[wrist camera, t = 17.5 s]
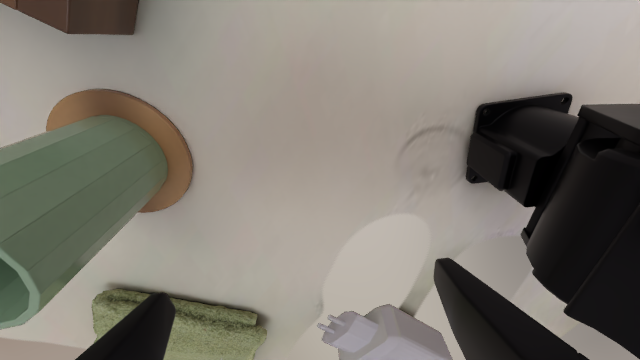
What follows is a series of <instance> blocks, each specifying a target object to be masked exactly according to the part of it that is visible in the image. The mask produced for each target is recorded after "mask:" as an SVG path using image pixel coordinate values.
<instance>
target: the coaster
mask: <svg viewBox="0 0 640 360" xmlns="http://www.w3.org/2000/svg"><path fill="white" fill-rule="evenodd" d="M95 115H111V116H116V117H120V118H123V119H126V120H128V121H131V122H133V123H134V124H136V125H138V126H140V127H141V128H143V129H144V130H145V131H146V132H148V133H149V134H150V135H151V136H152V137H153V138H154V139H155V140H156V142H157V143H158V144H159V146H160V147H161V148H162V150H163V152H164V154H165V157H166V160H167V164H168V175H167V179H166V181H165V183H164V185H163V186H162V187H161V189H160V190H159V191H158V192H157V193H156V194H155V195H154V196H153V197H152V198H151V199H150V200H149V201H148V202H147V203H146V204H145V205H144V206H143V207H142V208H141V209H140V210H139V211H138V212H141V213H145V212H154V211H159V210H162V209H165V208H167V207H169V206H171V205H173V204H174V203H176V202H177V201H178V200H179V199H180V198H181V197H182V196H183V195H184V193H185V192H186V190H187V189H188V187H189V185H190V182H191V178H192V160H191V155H190V152H189V149H188V147H187V145H186V143H185V140H184V139H183V137H182V136H181V134H180V132H179V131H178V130H177V129H176V127H175V126H174V125H173V124H172V123H171V122H170V121H169V120H168V119H167V118H166V117H165V116H164V115H163V114H162V113H160V112H159V111H158V110H157V109H155V108H154V107H152V106H151V105H149V104H147V103H146V102H144V101H142V100H140V99H138V98H136V97H133V96H131V95H128V94H125V93H122V92H118V91H113V90H105V89H93V90H86V91H81V92H77V93H74V94H71V95H69V96H67V97H65V98H64V99H62V100H61V101H60V102H59V103H58V104H57V105H56V106H55V107H54V108H53V110H52V111H51V113H50V115H49V118H48V120H47V126H46V131H49V130H52V129H55V128H58V127H60V126H63V125H66V124H69V123H72V122H75V121H78V120H81V119H84V118H87V117H90V116H95Z"/></svg>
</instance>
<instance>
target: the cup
mask: <svg viewBox="0 0 640 360" xmlns="http://www.w3.org/2000/svg"><path fill="white" fill-rule="evenodd" d="M167 175H168V164H167V160H166V157H165V154H164V152H163V150H162V148H161V147H160V146H159V144H158V143H157V142H156V140H155V139H154V138H153V137H152V136H151V135H150V134H149V133H148V132H146V131H145V130H144V129H143V128H141V127H140V126H138V125H136V124H134V123H133V122H131V121H128V120H126V119H123V118H120V117H116V116H111V115H95V116H90V117H87V118H84V119H81V120H78V121H75V122H72V123H69V124H66V125H63V126H60V127H58V128H55V129H52V130H49V131H46V132H44V133H41V134H38V135H35V136H32V137H30V138H27V139H24V140H21V141H18V142H15V143H13V144H10V145H7V146H4V147H1V148H0V329H5V328H10V327H14V326H19V325H23V324H25V323H26V322H27V321H28V320H30V319H31V318H32V317H33V316H35V315H36V314H37V313H38V312H39V311H40V310H41V309H42V308H43V307H44V306H45V305H46V304H47V303H48V302H49V301H50V300H51V299H52V298H53V297H54V296H55V295H56V294H57V293H58V292H59V291H60V290H61V289H62V288H63V287H64V286H65V285H66V284H67V283H68V282H69V281H70V280H71V279H72V278H73V277H74V276H75V275H76V274H77V273H78V272H79V271H80V270H81V269H82V268H83V267H84V266H85V265H86V264H87V263H88V262H89V261H90V260H91V259H92V258H93V257H94V256H95V255H96V254H97V253H98V252H99V251H100V250H101V249H102V248H103V247H104V246H105V245H106V244H107V243H108V242H109V241H110V240H111V239H112V238H113V237H114V236H115V235H116V234H117V233H118V232H119V231H120V230H121V229H122V228H123V227H124V226H125V225H126V224H127V223H128V222H129V221H130V220H131V219H132V217H133V216H134V215H135V214H136V213H137V212H138V211H139V210H140V209H141V208H142V207H143V206H144V205H145V204H146V203H147V202H148V201H149V200H150V199H151V198H152V197H153V196H154V195H155V194H156V193H157V192H158V191H159V190H160V189H161V187H162V186H163V185H164V183H165V181H166V179H167Z"/></svg>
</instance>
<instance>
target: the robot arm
mask: <svg viewBox="0 0 640 360" xmlns="http://www.w3.org/2000/svg"><path fill="white" fill-rule="evenodd" d="M563 98H564V100H563V101H562V99H563ZM561 101H562V102H561ZM571 102H572V95H571V94H568V93H556V94H549V95H542V96H535V97H528V98H521V99H514V100H507V101H499V102H492V103H485V104H482V105H480V106H479V107H478V109H477V111H476V117H475V123H474V130H473V134H472V135H471V140H470V146H469V152H468V159H467V165H468V167H467V173H466V179H467V181H469V182H470V183H481V182H489V183H491V184H492V185H493V186H494V187H495V188H497V189H498V190H500V191H503V190H504V191H505V192H506V193H508V194H509V195H510V196H512V197H513V198H514V199H515V200H517V201H518V202H519V203H520V204H522V205H523V206H524V207H533V206H535V207H536V208H535V210H534V212H533V214H532V216H531V219H530V221H529V223H528V225H527V227H526V228H524V229H523V231H522V233H521V237H522V239H523V240H524V243H525V244H526V246H527V253H526V254H527V256H528V258H529V260H530V262H531V264H532V266H533V268H534V270H533V272H532V273H533V275H534V276H535V277H536V278H537V280H538V281H539V282H540V283H541V284H542V285H543V286H544V287H545V288H546V289H547V290H549V291H550V292H551V293H552V294H554V295H555V296H556V297H557V298H558V299H560V300H561V301H563V302H564V303H566V304H567V306H566V308H565V309H564V313H565V314H566V315H567V316H569V317H571V318H573V319H575V320H577V321H579V322H581V323H584V324H586V325H588V326H590V327H592V328H594V329H596V330H597V331H599V332H600V333H602V334H604V335H605V336H607V337H608V338H610V339H612V340H613V341H615V342H617V343H618V344H620V345H621V346H622V347H624V348H625V349H627V350H628V351H630V352H631V353H632V354H633V355H635V356H636V357H637V358H639V359H640V104H600V105H582V106H581V109H580V111H579V113H578V116H579V117H576V116H573V115H570V114H568V111H569V108H570V105H571ZM485 109H487V111H486V112H485V113H484V114H483V111H484V110H485ZM473 176H475V177H474V178H472V177H473ZM434 282H435V285H436V288H437V291H438V293H439V296H440V299H441V302H442V304H443V307H444V310H445V312H446V315H447V318H448V321H449V323H450V326H451V329H452V331H453V333H454V336H455V338H456V340H457V342H458V344H459V346H460V348H461V350H462V352H463V354H464V357H465V359H466V360H589V359H588V358H586V357H585V356H584V355H582V354H581V353H577V351H576V350H575V349H574V348H573V347H571V346H570V345H568V344H567V343H565V342H564V341H563V340H561V339H560V338H559V337H557V336H556V335H555V334H553V333H552V332H551V331H549V330H548V329H546V328H545V327H544V326H542V325H541V324H540V323H538V322H537V321H536V320H534V319H533V318H531V317H530V316H529V315H527V314H526V313H525V312H523V311H522V310H520V309H519V308H518V307H516V306H515V305H514V304H512V303H511V302H510V301H508V300H507V299H505V298H504V297H503V296H501V295H500V294H499V293H497V292H496V291H494V290H493V289H492V288H490V287H489V286H488V285H486V284H485V283H483V282H482V281H481V280H479V279H478V278H476V277H475V276H474V275H472V274H471V273H470V272H468V271H467V270H465V269H464V268H463V267H462V266H460V265H459V264H457V263H456V262H455V261H453V260H452V259H450V258H441V259H437V260H436V262H435V269H434ZM175 314H176V308H175V306H174V304H173V303H172V301H171V300H170V298H169V296H168V295H167V294H166V293H164V292H161V293H154V294H151V295H150V296H148V297H147V298H146V299H145V300H144V301H143V302H141V303H140V304H139V305H138V306H137V307H136V308H134V309H133V310H132V311H131V312H130V313H129V314H128V315H126V316H125V317H124V318H123V319H122V320H121V321H119V322H118V323H117V324H116V325H115V326H114V327H112V328H111V329H110V330H109V331H108V332H107V333H105V334H104V335H103V336H102V337H101V338H100V339H99V340H97V341H96V342H95V343H94V344H93V345H92V346H90V347H89V348H88V349H87V350H86V351H85V352H83V353H82V354H81V355H80V356H79V357H78V358H77V359H75V360H163V359H164V356H165V352H166V349H167V345H168V341H169V337H170V334H171V330H172V326H173V322H174V319H175Z"/></svg>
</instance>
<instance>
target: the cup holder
mask: <svg viewBox="0 0 640 360" xmlns="http://www.w3.org/2000/svg"><path fill="white" fill-rule="evenodd" d="M138 1H139V0H0V3H2V4H4V5H6V6H9V7H11V8H13V9H15V10H18V11H20V12H22V13H24V14H26V15H28V16H31V17H33V18H35V19H37V20H39V21H41V22H43V23H45V24H48V25H50V26H52V27H54V28H56V29H58V30H60V31H63V32H65V33H67V34H108V35H133V33H134V26H135V20H136V13H137V7H138Z"/></svg>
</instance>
